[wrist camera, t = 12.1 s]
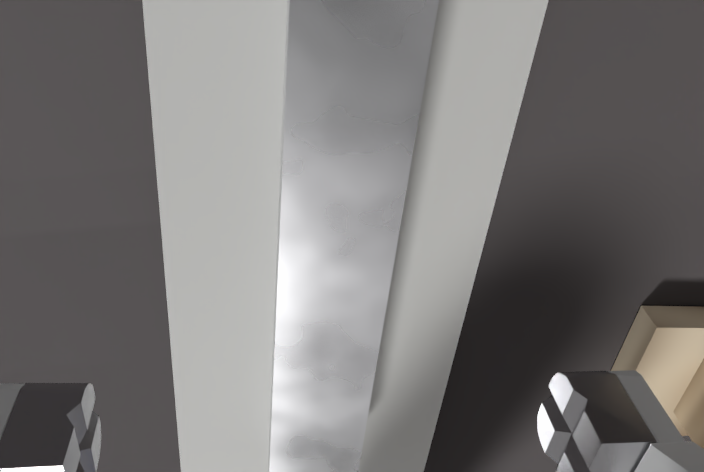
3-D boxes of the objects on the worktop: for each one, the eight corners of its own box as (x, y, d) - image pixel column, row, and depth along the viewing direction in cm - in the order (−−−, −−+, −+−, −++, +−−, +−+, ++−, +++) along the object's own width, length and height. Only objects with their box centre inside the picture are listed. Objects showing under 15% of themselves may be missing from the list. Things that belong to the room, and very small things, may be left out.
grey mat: (184, 464, 26) (181, 481, 26) (105, -570, 11) (93, -594, 10) (419, 460, 28) (422, 476, 27) (654, -464, 12) (675, -480, 11)
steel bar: (268, 448, 25) (267, 519, 22) (302, -388, 12) (308, -440, 9) (344, 447, 25) (350, 516, 23) (461, -362, 12) (508, -405, 9)
